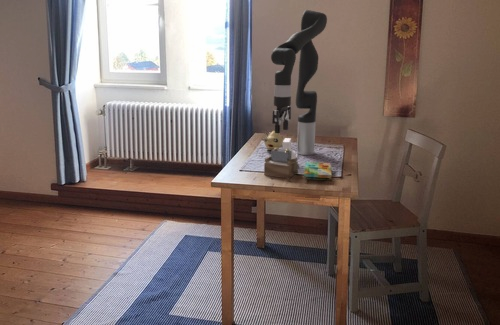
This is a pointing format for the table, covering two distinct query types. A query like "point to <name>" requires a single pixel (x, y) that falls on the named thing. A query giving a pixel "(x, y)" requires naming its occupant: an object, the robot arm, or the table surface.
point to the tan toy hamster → (273, 141)
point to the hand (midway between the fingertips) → (281, 131)
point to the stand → (280, 168)
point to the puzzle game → (317, 171)
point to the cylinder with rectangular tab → (288, 146)
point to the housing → (281, 155)
